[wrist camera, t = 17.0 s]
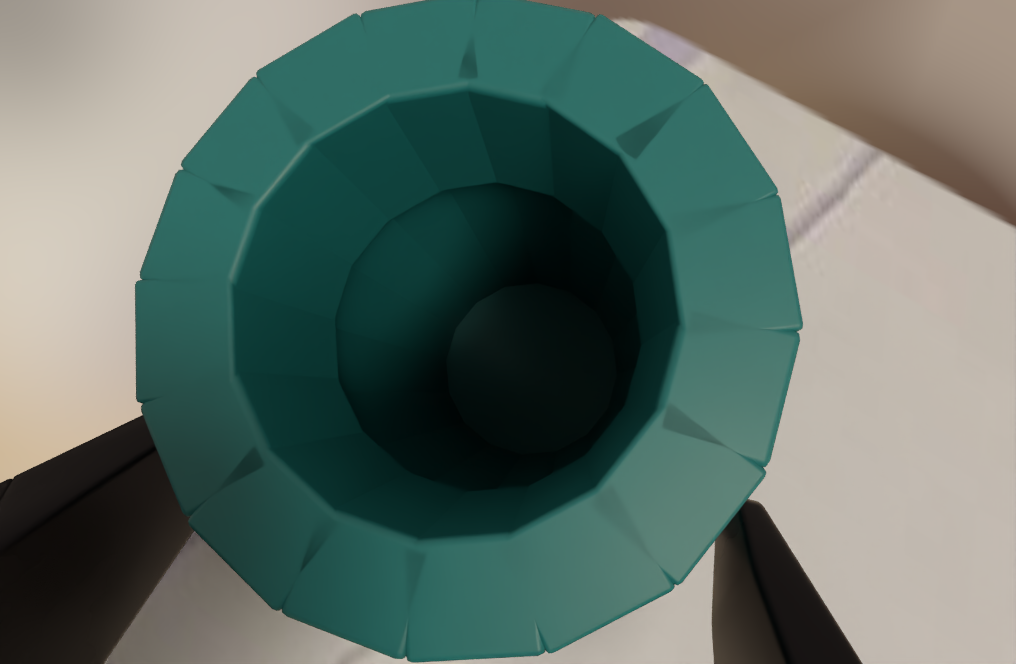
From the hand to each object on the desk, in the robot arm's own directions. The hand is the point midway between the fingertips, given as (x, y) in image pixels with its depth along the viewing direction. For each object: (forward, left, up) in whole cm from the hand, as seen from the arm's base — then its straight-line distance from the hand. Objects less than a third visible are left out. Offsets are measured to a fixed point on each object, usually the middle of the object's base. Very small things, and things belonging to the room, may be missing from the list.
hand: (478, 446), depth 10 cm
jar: (+2, 0, -8) cm, 9 cm away
